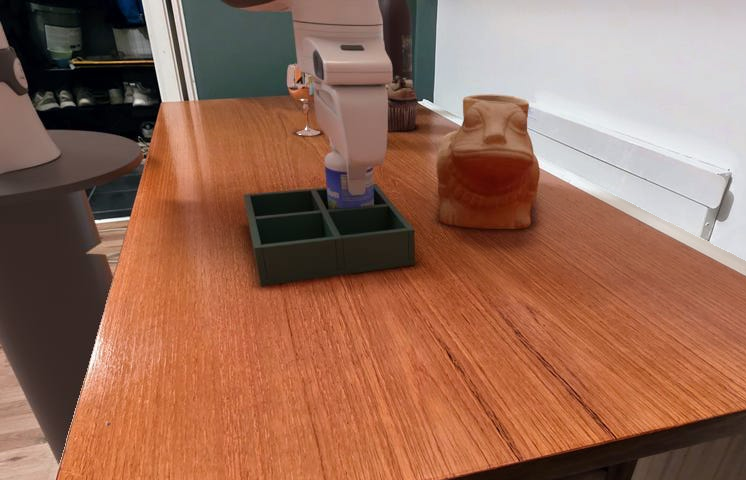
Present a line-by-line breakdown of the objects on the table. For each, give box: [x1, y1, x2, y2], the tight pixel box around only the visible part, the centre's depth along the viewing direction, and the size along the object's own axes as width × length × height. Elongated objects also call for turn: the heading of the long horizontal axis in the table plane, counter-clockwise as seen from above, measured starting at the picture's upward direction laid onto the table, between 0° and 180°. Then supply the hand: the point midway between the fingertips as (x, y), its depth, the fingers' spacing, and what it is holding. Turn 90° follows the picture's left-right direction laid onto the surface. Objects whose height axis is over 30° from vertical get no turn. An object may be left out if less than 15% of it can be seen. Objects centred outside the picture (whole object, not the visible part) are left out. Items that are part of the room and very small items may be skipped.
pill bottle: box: [324, 136, 374, 209], centre depth 63 cm, size 5×5×10 cm
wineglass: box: [286, 63, 321, 137], centre depth 102 cm, size 6×6×12 cm
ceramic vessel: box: [435, 93, 541, 230], centre depth 72 cm, size 14×26×15 cm, turn 179°
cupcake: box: [384, 75, 419, 132], centre depth 111 cm, size 10×10×10 cm
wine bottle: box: [379, 0, 413, 81], centre depth 120 cm, size 7×7×30 cm
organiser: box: [242, 183, 416, 287], centre depth 61 cm, size 16×16×4 cm
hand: (349, 183), depth 63 cm, fingers closed on pill bottle, 5 cm apart
